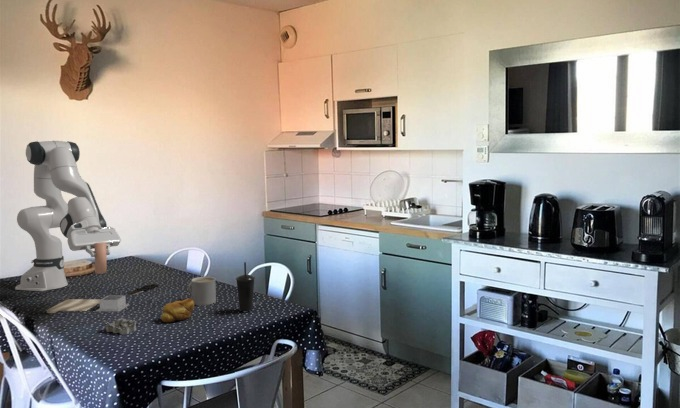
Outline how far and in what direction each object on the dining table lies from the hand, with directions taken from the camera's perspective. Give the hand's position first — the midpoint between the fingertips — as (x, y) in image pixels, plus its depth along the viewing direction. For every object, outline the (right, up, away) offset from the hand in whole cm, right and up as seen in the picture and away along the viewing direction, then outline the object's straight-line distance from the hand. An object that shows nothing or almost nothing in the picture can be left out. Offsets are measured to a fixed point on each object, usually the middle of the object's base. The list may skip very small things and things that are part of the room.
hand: (101, 255), depth 224 cm
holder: (+4, -23, +3) cm, 23 cm away
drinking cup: (+59, -23, +1) cm, 63 cm away
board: (-13, -22, +7) cm, 27 cm away
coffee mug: (+37, -22, +15) cm, 45 cm away
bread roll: (+33, -24, -9) cm, 42 cm away
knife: (+4, -21, +30) cm, 37 cm away
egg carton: (+17, -26, -22) cm, 38 cm away
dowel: (-1, -7, +1) cm, 7 cm away
